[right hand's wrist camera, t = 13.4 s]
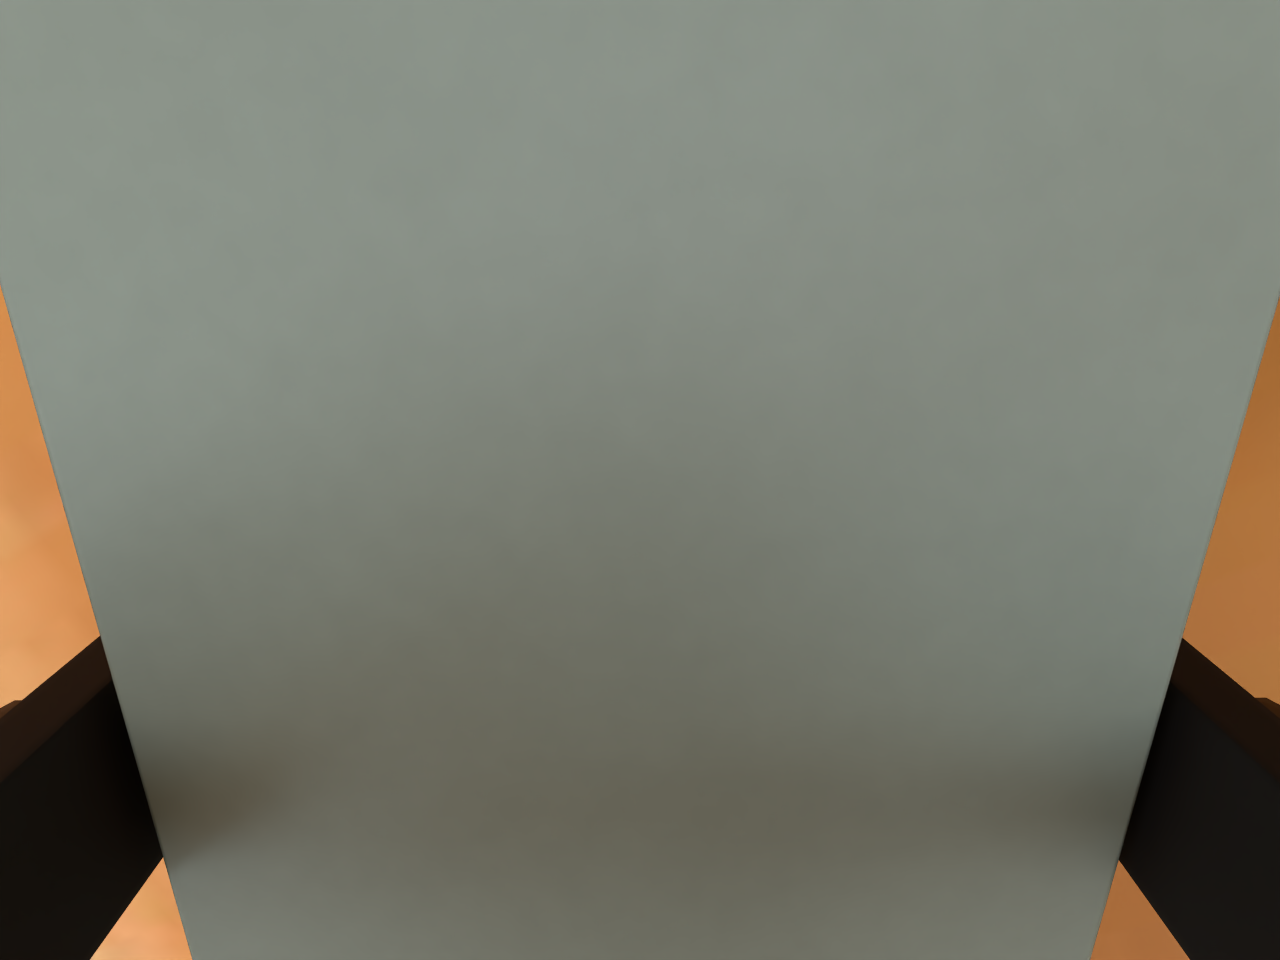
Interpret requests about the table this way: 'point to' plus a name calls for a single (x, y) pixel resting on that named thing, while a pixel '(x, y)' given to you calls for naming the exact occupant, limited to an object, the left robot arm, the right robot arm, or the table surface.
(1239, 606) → the table surface
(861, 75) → the grey box
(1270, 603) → the table surface
